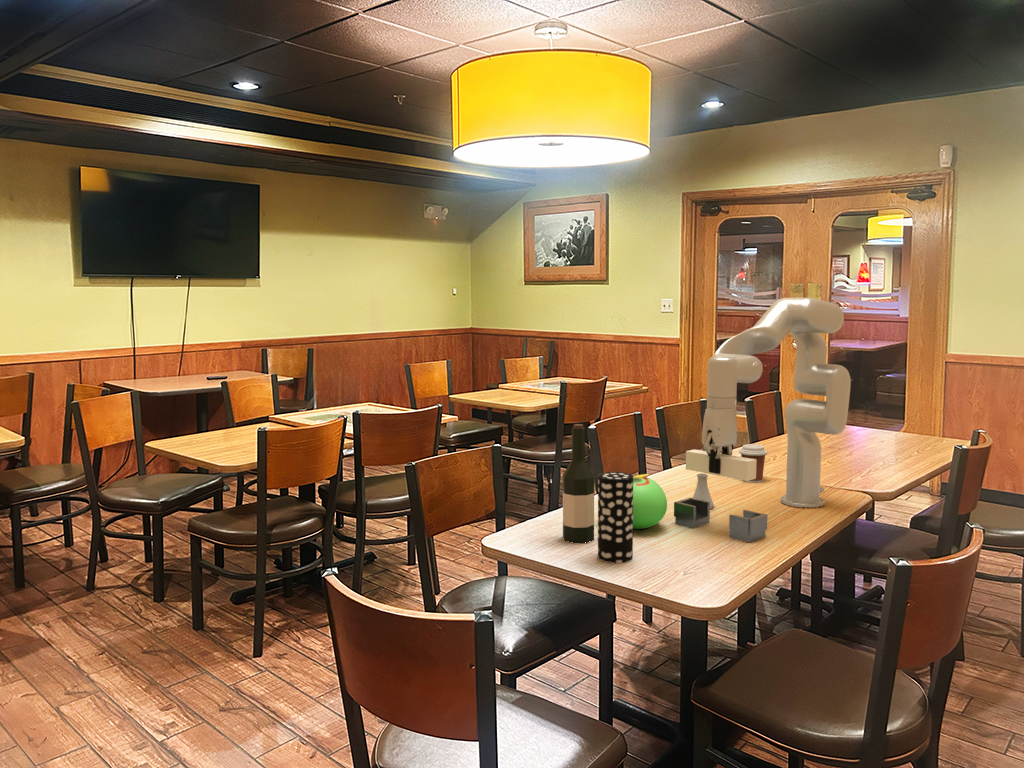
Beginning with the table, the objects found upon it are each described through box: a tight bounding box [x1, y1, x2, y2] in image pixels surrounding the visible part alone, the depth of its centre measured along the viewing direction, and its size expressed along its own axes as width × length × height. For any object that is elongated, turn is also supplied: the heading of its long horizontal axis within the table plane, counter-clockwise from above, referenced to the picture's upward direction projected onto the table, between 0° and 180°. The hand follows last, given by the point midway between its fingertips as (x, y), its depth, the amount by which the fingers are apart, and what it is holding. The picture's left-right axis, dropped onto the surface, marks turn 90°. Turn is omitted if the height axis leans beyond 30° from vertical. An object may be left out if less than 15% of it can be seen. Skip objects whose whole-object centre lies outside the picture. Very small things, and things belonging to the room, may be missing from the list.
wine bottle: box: [562, 423, 595, 544], centre depth 199 cm, size 8×8×30 cm
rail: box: [685, 449, 756, 482], centre depth 205 cm, size 4×19×5 cm, turn 42°
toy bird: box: [633, 473, 668, 530], centre depth 211 cm, size 18×17×15 cm
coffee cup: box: [738, 443, 768, 484], centre depth 263 cm, size 9×9×12 cm
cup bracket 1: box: [673, 497, 711, 529], centre depth 214 cm, size 8×6×6 cm
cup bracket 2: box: [728, 509, 769, 543], centre depth 201 cm, size 8×6×6 cm
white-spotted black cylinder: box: [597, 471, 634, 564], centre depth 185 cm, size 8×8×20 cm
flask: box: [692, 472, 715, 510], centre depth 230 cm, size 7×7×10 cm
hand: (719, 470), depth 206 cm, fingers closed on rail, 4 cm apart
